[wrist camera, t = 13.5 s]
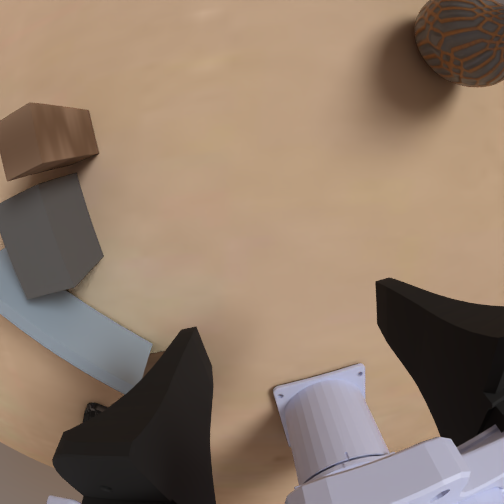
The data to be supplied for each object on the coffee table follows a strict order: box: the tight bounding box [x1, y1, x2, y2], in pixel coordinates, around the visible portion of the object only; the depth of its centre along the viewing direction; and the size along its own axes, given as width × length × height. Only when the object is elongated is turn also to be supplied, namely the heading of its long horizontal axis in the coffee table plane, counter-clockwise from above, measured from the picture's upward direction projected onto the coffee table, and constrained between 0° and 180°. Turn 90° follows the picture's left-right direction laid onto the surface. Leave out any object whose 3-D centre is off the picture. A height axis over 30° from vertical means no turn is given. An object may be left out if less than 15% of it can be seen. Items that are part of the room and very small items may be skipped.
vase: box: [415, 0, 504, 87], centre depth 12 cm, size 7×7×9 cm
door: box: [0, 247, 152, 394], centre depth 19 cm, size 14×2×5 cm, turn 55°
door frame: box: [0, 103, 165, 378], centre depth 17 cm, size 20×2×7 cm, turn 13°
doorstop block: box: [0, 173, 104, 300], centre depth 17 cm, size 6×4×5 cm, turn 13°
